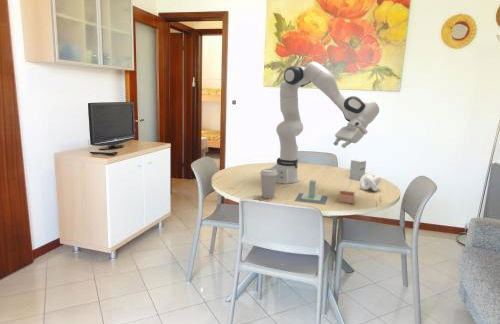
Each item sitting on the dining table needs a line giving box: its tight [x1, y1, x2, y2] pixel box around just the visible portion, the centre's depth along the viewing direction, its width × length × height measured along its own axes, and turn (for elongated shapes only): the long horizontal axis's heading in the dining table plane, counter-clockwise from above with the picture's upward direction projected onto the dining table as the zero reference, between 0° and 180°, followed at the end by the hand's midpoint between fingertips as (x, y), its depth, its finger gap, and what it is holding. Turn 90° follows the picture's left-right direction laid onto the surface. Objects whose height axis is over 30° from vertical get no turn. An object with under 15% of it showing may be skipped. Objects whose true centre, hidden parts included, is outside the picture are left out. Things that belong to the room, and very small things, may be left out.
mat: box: [294, 192, 329, 205], centre depth 191 cm, size 16×16×1 cm
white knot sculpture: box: [359, 173, 382, 192], centre depth 213 cm, size 11×12×9 cm
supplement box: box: [349, 158, 367, 181], centre depth 239 cm, size 7×7×13 cm
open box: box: [337, 190, 356, 206], centre depth 189 cm, size 8×8×4 cm
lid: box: [301, 179, 323, 202], centre depth 190 cm, size 10×10×10 cm
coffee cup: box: [259, 167, 278, 199], centre depth 192 cm, size 10×10×15 cm
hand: (338, 146), depth 189 cm, fingers open, 8 cm apart
